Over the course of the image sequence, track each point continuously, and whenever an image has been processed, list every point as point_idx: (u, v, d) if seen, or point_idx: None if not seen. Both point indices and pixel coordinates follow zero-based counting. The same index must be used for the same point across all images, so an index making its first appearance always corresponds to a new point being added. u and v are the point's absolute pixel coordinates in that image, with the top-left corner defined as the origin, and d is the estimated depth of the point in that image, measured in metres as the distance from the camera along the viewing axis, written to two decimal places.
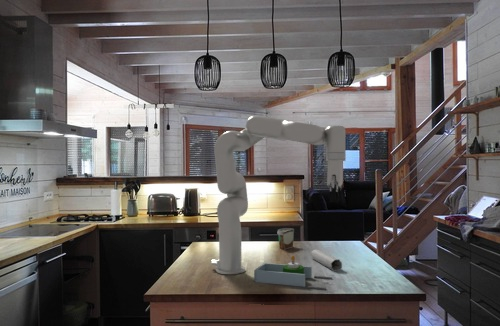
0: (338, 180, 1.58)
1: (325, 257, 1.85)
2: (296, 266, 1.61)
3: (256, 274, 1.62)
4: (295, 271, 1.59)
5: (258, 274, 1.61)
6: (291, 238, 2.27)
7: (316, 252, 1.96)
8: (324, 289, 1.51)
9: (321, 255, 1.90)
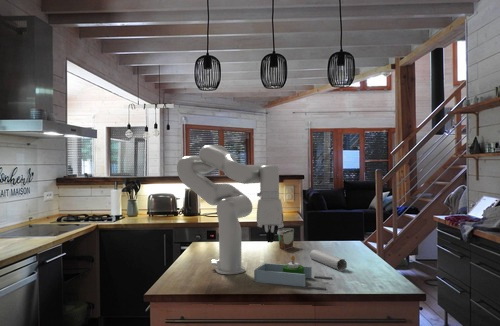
0: None
1: (328, 257, 1.85)
2: (296, 266, 1.61)
3: (256, 274, 1.62)
4: (295, 271, 1.59)
5: (258, 274, 1.61)
6: (291, 238, 2.27)
7: (316, 252, 1.95)
8: (324, 289, 1.51)
9: (322, 255, 1.90)
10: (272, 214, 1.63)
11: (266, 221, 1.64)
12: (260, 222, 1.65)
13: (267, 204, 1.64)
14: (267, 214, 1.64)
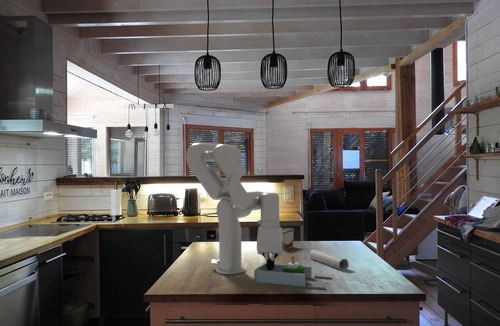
0: None
1: (329, 257, 1.85)
2: (296, 266, 1.61)
3: (256, 274, 1.62)
4: (295, 271, 1.59)
5: (258, 274, 1.61)
6: (291, 238, 2.27)
7: (316, 252, 1.95)
8: (324, 289, 1.51)
9: (323, 255, 1.90)
10: (272, 242, 1.63)
11: (266, 249, 1.64)
12: (260, 250, 1.65)
13: (268, 232, 1.64)
14: (267, 242, 1.64)
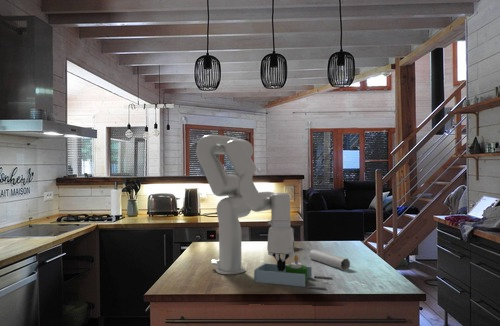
0: None
1: (330, 257, 1.86)
2: (299, 266, 1.61)
3: (256, 274, 1.62)
4: (298, 271, 1.59)
5: (258, 274, 1.61)
6: None
7: (316, 252, 1.95)
8: (324, 289, 1.51)
9: (323, 255, 1.90)
10: (283, 243, 1.62)
11: (277, 250, 1.62)
12: (271, 251, 1.63)
13: (279, 233, 1.62)
14: (278, 243, 1.62)
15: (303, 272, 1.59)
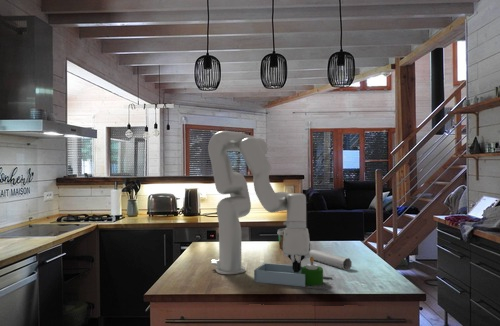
0: None
1: (331, 257, 1.86)
2: (315, 267, 1.59)
3: (256, 274, 1.62)
4: (314, 272, 1.56)
5: (258, 274, 1.61)
6: None
7: (316, 252, 1.95)
8: (324, 289, 1.51)
9: (324, 255, 1.90)
10: (299, 244, 1.59)
11: (293, 251, 1.60)
12: (286, 252, 1.61)
13: (294, 234, 1.60)
14: (294, 244, 1.60)
15: (319, 273, 1.57)
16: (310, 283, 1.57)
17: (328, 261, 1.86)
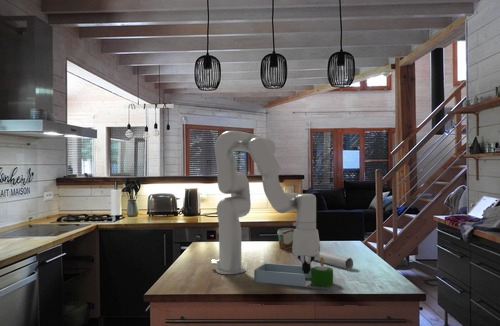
0: None
1: (333, 257, 1.86)
2: (325, 268, 1.57)
3: (256, 274, 1.62)
4: (324, 273, 1.55)
5: (258, 274, 1.61)
6: (291, 238, 2.27)
7: None
8: (324, 289, 1.51)
9: (325, 255, 1.90)
10: (309, 245, 1.58)
11: (302, 252, 1.59)
12: (296, 253, 1.60)
13: (304, 234, 1.59)
14: (304, 245, 1.59)
15: (329, 274, 1.56)
16: (320, 284, 1.55)
17: (329, 261, 1.87)
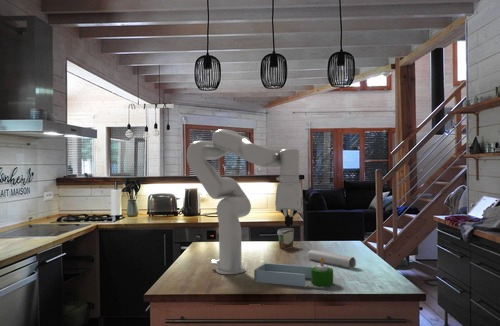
0: None
1: (335, 256, 1.86)
2: (325, 268, 1.57)
3: (256, 274, 1.62)
4: (324, 273, 1.55)
5: (258, 274, 1.61)
6: (291, 238, 2.27)
7: (316, 252, 1.95)
8: (324, 289, 1.51)
9: (326, 254, 1.90)
10: (291, 198, 1.61)
11: (285, 205, 1.62)
12: (279, 206, 1.62)
13: (287, 188, 1.61)
14: (286, 198, 1.61)
15: (329, 275, 1.56)
16: (320, 284, 1.55)
17: (331, 261, 1.87)
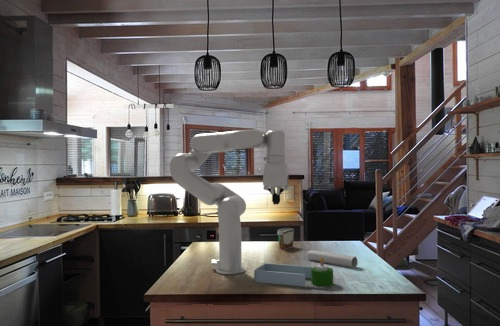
0: None
1: (336, 256, 1.87)
2: (325, 268, 1.57)
3: (256, 274, 1.62)
4: (324, 273, 1.55)
5: (258, 274, 1.61)
6: (291, 238, 2.27)
7: (317, 253, 1.94)
8: (324, 289, 1.51)
9: (327, 254, 1.90)
10: (278, 177, 1.70)
11: (272, 184, 1.71)
12: (266, 185, 1.72)
13: (274, 167, 1.71)
14: (273, 177, 1.71)
15: (329, 274, 1.56)
16: (320, 284, 1.55)
17: (333, 261, 1.87)
